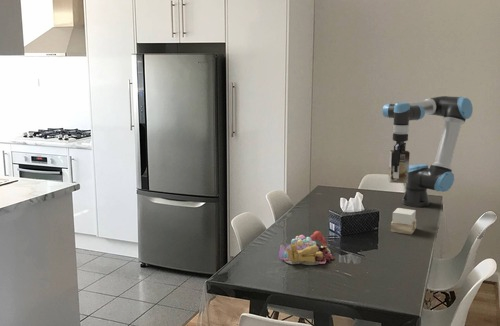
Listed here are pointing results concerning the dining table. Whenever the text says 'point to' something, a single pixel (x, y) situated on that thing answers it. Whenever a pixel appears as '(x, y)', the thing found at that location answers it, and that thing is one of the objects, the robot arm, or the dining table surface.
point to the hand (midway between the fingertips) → (398, 176)
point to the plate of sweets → (306, 250)
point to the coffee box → (402, 167)
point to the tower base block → (403, 227)
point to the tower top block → (404, 216)
